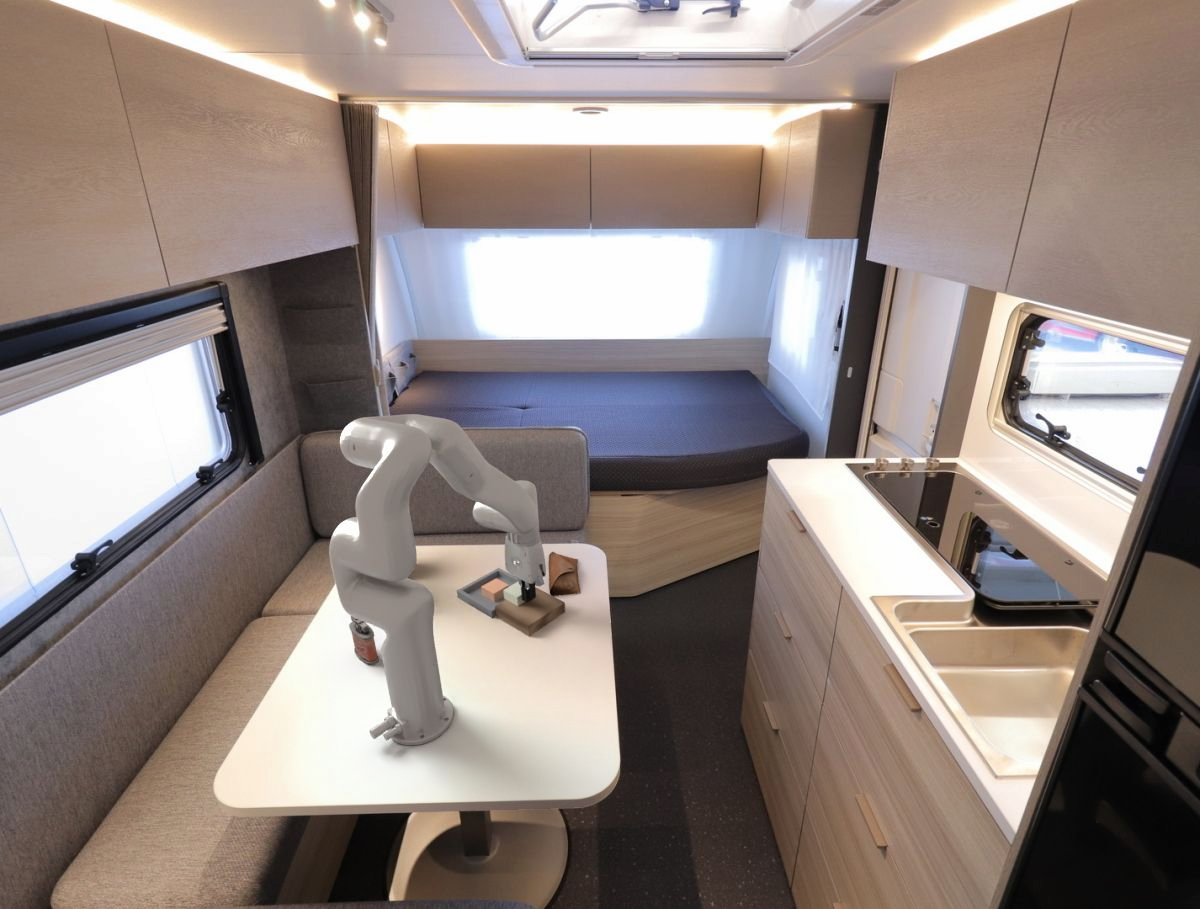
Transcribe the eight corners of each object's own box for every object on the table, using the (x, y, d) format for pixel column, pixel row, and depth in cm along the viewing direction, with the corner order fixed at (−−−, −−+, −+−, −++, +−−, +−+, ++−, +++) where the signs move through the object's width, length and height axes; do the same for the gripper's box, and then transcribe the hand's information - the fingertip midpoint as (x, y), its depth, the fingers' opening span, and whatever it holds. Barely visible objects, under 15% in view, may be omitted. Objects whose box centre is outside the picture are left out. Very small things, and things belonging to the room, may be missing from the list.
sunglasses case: (582, 593, 159) (568, 575, 157) (560, 607, 160) (545, 589, 157) (578, 557, 176) (565, 541, 173) (557, 570, 177) (544, 553, 174)
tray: (492, 618, 151) (491, 611, 150) (457, 597, 159) (456, 590, 159) (534, 592, 160) (533, 586, 160) (499, 574, 169) (498, 567, 168)
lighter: (382, 660, 137) (375, 623, 134) (368, 668, 135) (360, 630, 132) (365, 644, 143) (357, 608, 139) (351, 652, 140) (343, 615, 137)
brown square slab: (529, 636, 144) (528, 625, 143) (496, 616, 151) (495, 606, 150) (565, 612, 152) (564, 602, 151) (532, 594, 159) (531, 584, 158)
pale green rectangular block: (517, 606, 150) (517, 597, 149) (504, 598, 153) (503, 590, 152) (532, 596, 153) (531, 588, 152) (519, 589, 156) (518, 581, 156)
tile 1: (481, 586, 158) (482, 594, 159) (493, 593, 155) (494, 602, 156) (496, 578, 162) (497, 586, 163) (508, 584, 159) (509, 593, 160)
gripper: (490, 529, 146) (497, 594, 152) (533, 549, 136) (538, 618, 143) (514, 517, 151) (520, 581, 157) (557, 536, 141) (561, 603, 148)
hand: (529, 598), depth 150 cm, fingers closed
